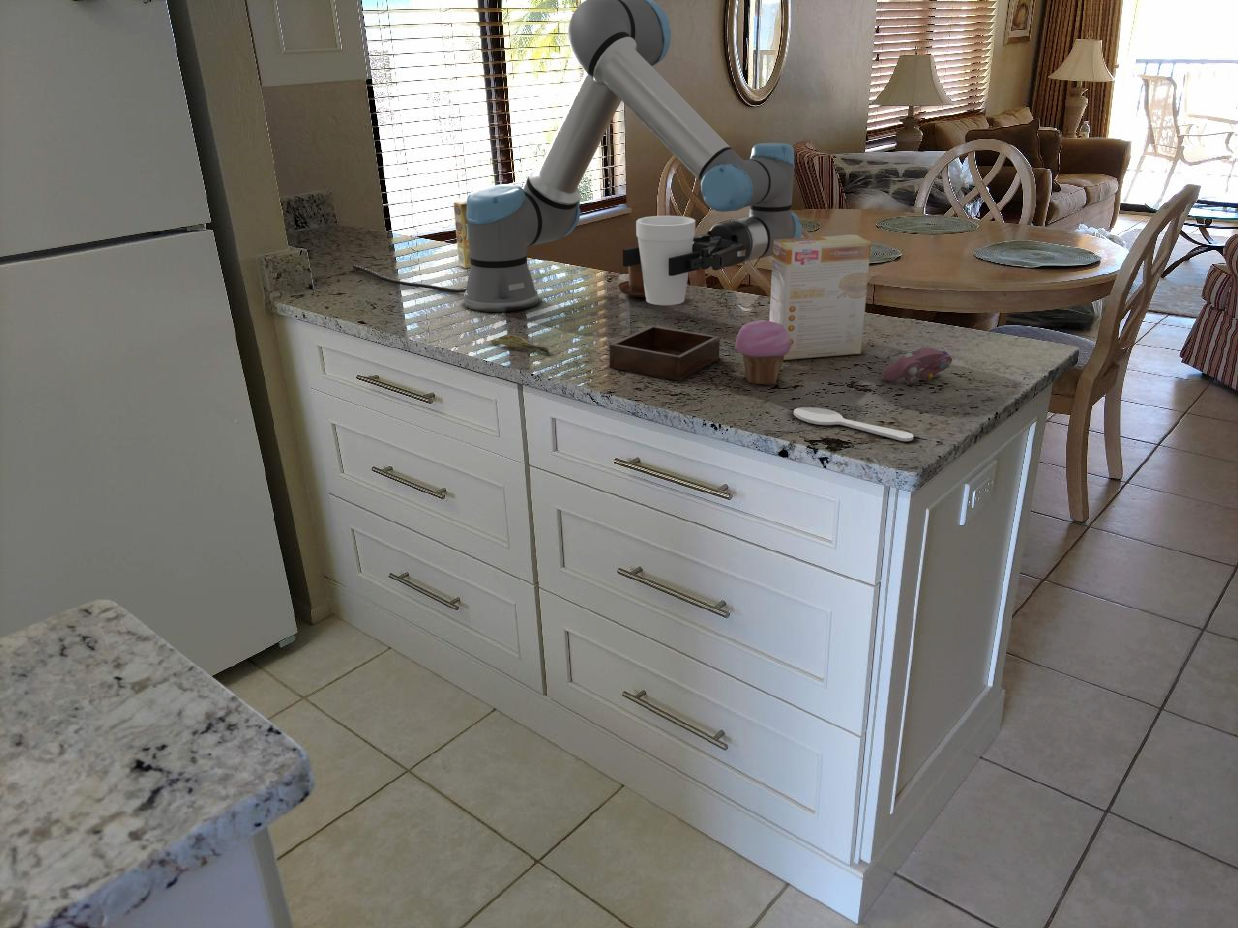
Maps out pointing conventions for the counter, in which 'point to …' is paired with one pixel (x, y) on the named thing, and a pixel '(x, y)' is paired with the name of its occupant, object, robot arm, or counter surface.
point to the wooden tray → (664, 352)
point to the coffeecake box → (820, 293)
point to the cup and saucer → (634, 282)
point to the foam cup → (664, 256)
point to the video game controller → (918, 365)
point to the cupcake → (763, 350)
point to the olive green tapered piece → (518, 343)
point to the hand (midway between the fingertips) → (646, 262)
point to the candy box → (462, 234)
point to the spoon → (847, 422)
